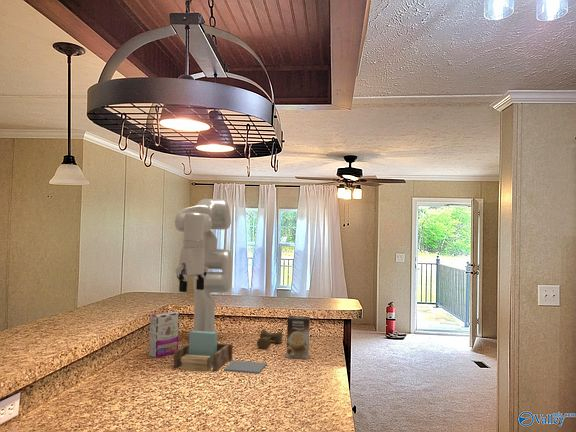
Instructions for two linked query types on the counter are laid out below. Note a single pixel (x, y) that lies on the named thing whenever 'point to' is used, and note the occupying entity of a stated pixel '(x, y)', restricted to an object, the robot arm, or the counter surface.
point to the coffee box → (298, 337)
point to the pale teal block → (203, 343)
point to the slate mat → (245, 367)
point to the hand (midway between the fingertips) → (191, 290)
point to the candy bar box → (164, 334)
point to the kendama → (268, 339)
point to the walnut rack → (218, 358)
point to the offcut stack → (196, 363)
